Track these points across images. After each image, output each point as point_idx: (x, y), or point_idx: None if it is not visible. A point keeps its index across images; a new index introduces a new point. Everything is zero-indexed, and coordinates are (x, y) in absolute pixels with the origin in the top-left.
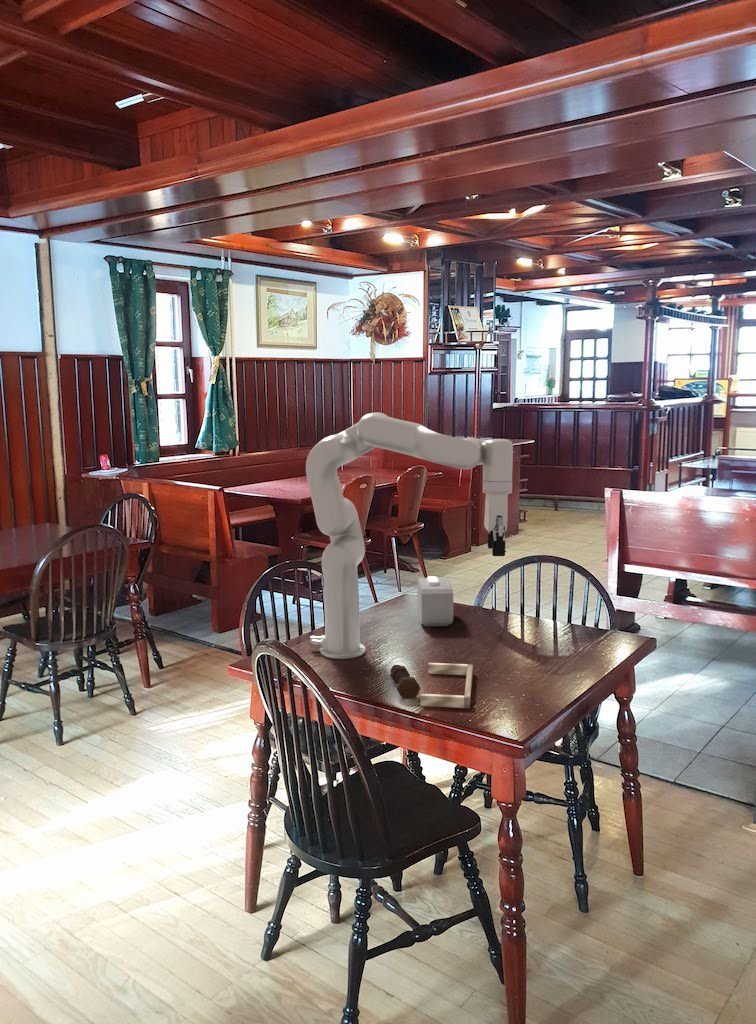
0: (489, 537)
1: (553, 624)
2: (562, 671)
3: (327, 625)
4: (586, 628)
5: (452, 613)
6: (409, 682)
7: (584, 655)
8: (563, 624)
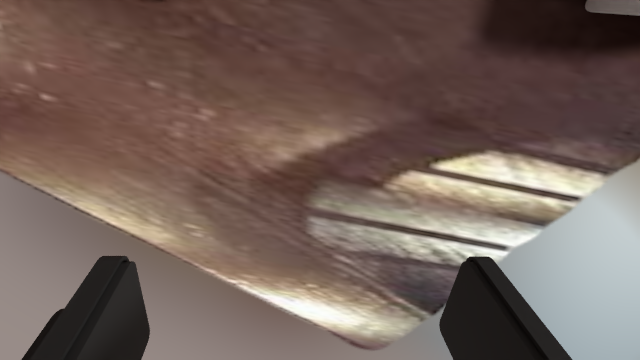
0: (523, 356)
1: (499, 244)
2: (214, 205)
3: None
4: None
5: (597, 8)
6: None
7: (306, 258)
8: None
